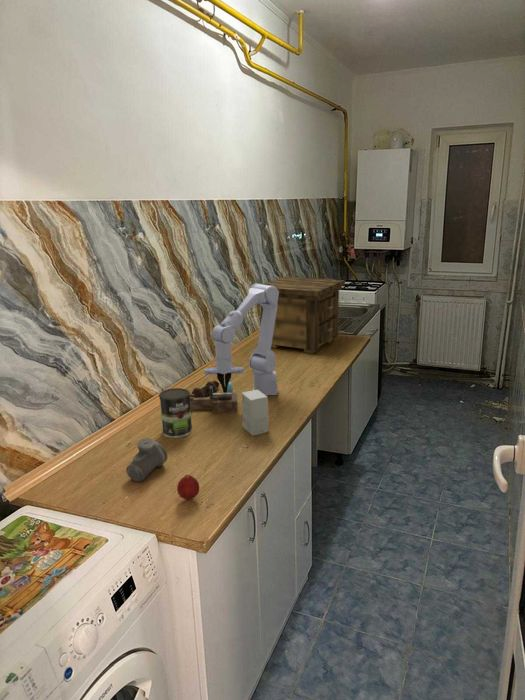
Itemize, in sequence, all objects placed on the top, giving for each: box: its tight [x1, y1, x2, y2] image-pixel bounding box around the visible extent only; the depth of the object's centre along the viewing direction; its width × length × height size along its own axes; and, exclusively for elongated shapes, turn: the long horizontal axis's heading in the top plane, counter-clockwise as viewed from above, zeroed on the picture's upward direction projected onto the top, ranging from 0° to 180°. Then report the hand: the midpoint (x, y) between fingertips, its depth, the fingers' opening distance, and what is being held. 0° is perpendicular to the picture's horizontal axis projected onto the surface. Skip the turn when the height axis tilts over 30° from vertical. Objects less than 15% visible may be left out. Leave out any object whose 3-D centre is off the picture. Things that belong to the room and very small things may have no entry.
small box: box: [241, 389, 270, 437], centre depth 175 cm, size 8×6×13 cm
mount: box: [190, 392, 238, 414], centre depth 195 cm, size 18×9×5 cm, turn 92°
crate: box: [260, 275, 346, 354], centre depth 269 cm, size 35×35×33 cm
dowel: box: [224, 381, 234, 393], centre depth 204 cm, size 4×4×6 cm
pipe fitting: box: [125, 437, 168, 483], centre depth 150 cm, size 12×8×10 cm
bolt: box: [191, 380, 220, 398], centre depth 208 cm, size 6×5×15 cm
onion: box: [176, 473, 200, 502], centre depth 136 cm, size 6×6×8 cm
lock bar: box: [209, 386, 231, 399], centre depth 194 cm, size 8×3×4 cm, turn 92°
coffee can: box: [158, 387, 193, 439], centre depth 175 cm, size 10×10×14 cm
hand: (225, 391), depth 194 cm, fingers closed
